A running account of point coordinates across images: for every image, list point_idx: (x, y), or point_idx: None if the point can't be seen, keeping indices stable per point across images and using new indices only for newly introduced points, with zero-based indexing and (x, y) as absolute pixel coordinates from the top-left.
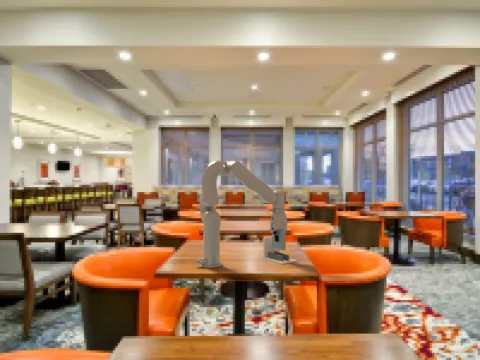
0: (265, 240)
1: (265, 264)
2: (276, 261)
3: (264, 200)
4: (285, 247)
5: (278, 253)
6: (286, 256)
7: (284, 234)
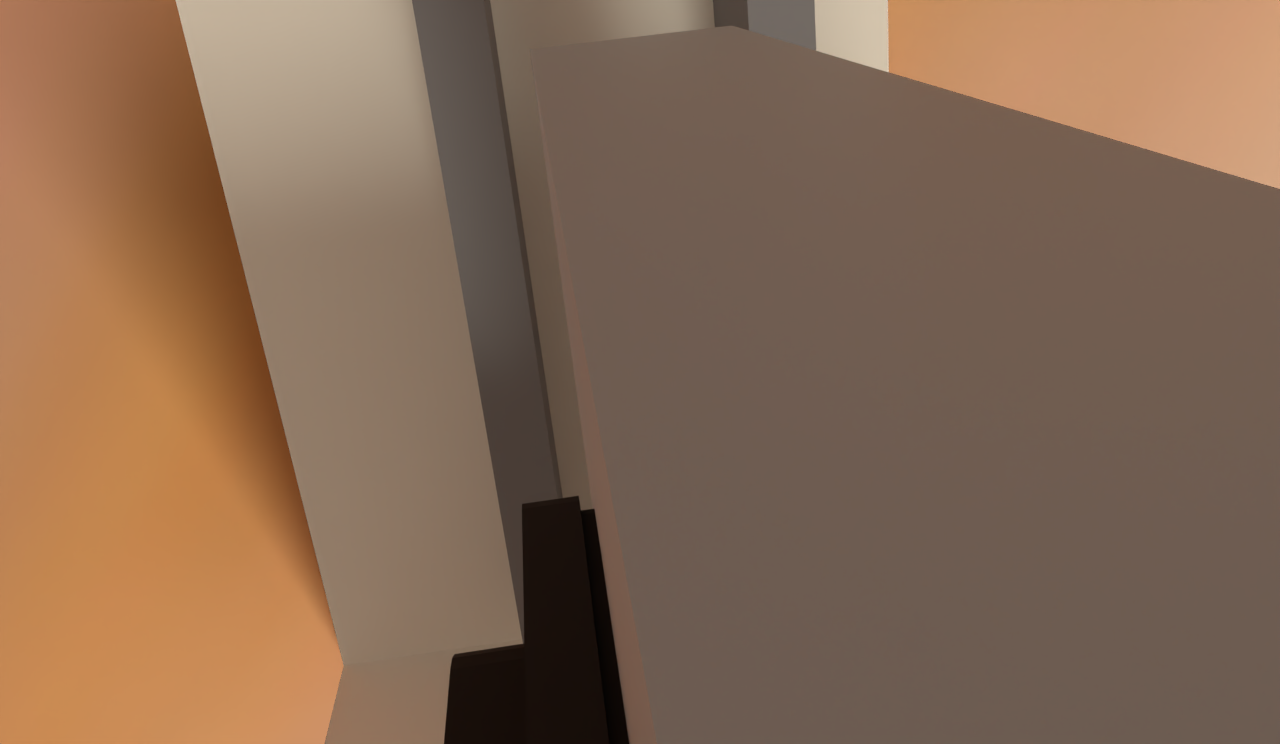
0: None
1: (1247, 13)
2: (885, 18)
3: None
4: (536, 59)
5: (554, 474)
6: (488, 17)
7: (796, 218)
